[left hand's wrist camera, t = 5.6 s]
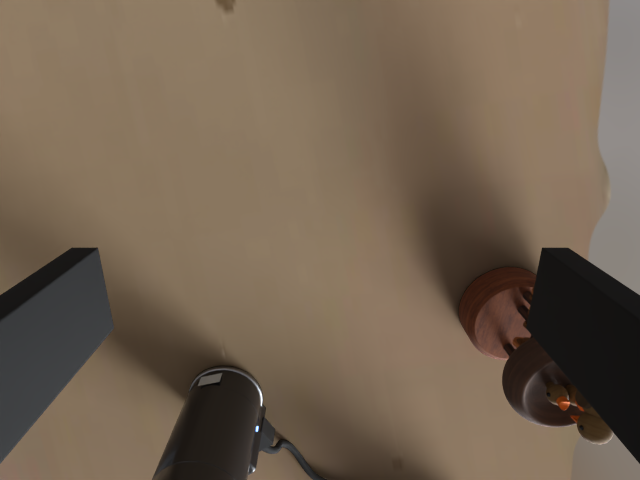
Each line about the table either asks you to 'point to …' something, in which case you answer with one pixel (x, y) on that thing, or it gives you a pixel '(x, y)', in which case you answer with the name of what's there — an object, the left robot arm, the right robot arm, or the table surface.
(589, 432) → the music box
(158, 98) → the table surface
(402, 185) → the table surface
